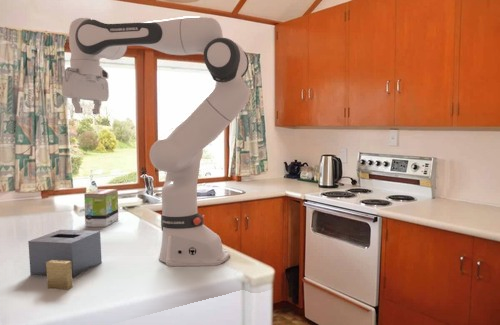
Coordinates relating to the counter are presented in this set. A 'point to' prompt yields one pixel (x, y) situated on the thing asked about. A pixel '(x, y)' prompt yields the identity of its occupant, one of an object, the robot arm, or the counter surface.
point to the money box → (65, 251)
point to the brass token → (59, 274)
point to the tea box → (101, 207)
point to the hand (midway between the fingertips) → (87, 113)
